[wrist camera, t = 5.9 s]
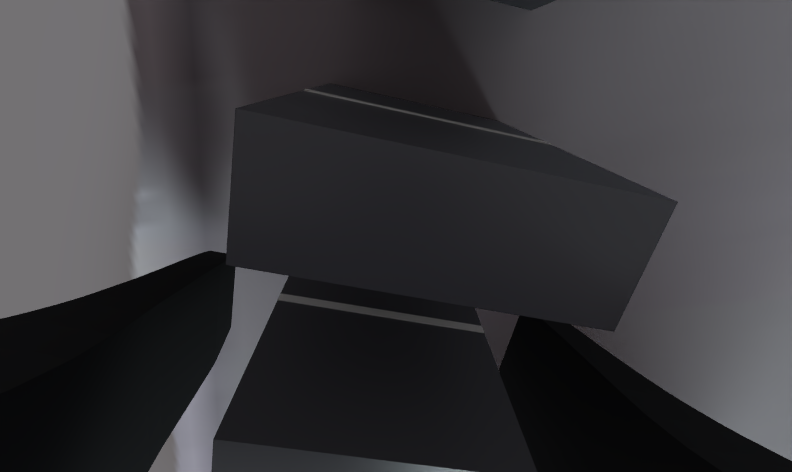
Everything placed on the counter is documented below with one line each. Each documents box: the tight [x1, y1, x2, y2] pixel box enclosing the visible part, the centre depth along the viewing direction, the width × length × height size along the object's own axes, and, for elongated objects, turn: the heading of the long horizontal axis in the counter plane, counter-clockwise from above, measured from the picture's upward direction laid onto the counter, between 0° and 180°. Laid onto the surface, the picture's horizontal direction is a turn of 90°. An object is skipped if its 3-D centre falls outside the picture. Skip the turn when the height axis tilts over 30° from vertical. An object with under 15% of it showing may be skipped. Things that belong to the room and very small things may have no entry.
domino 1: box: [226, 84, 678, 331], centre depth 7 cm, size 2×4×7 cm, turn 78°
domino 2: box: [212, 276, 537, 472], centre depth 9 cm, size 2×4×7 cm, turn 78°
